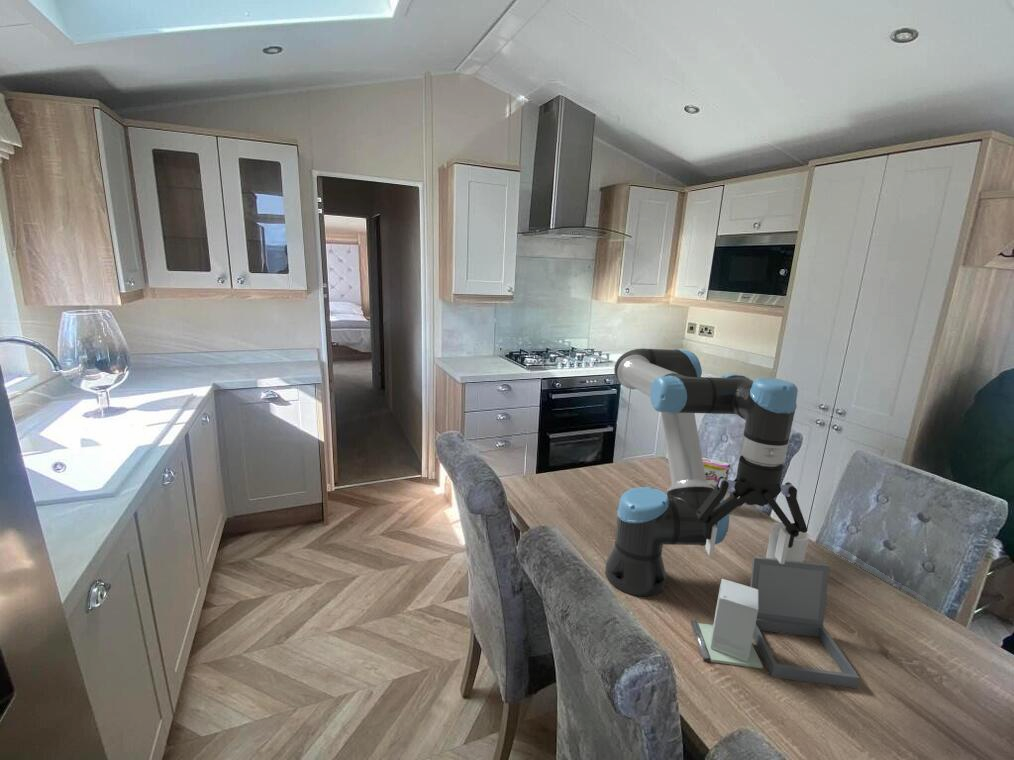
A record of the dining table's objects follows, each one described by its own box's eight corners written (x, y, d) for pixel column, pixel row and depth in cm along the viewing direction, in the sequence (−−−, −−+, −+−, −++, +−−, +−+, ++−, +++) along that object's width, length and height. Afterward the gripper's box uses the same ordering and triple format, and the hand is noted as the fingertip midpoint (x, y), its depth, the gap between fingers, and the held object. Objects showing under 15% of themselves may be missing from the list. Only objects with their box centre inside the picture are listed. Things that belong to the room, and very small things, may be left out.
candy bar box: (686, 503, 159) (692, 459, 155) (689, 498, 163) (695, 454, 159) (721, 513, 153) (728, 468, 150) (723, 507, 158) (730, 462, 154)
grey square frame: (772, 677, 92) (774, 666, 91) (747, 625, 105) (748, 616, 104) (857, 688, 90) (860, 678, 89) (820, 635, 103) (823, 625, 102)
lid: (754, 558, 103) (753, 556, 104) (749, 616, 104) (747, 614, 105) (829, 566, 101) (827, 564, 102) (823, 625, 102) (821, 623, 103)
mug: (818, 570, 126) (826, 535, 123) (783, 577, 122) (791, 541, 120) (791, 552, 134) (798, 519, 131) (758, 558, 130) (764, 524, 128)
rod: (702, 660, 95) (702, 655, 95) (689, 624, 105) (690, 619, 104) (709, 661, 95) (710, 655, 95) (696, 625, 105) (697, 620, 104)
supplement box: (748, 663, 94) (759, 610, 91) (709, 648, 97) (718, 597, 94) (749, 639, 100) (759, 589, 97) (712, 625, 104) (721, 577, 101)
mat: (710, 661, 95) (711, 659, 95) (697, 625, 105) (698, 623, 104) (762, 668, 94) (762, 666, 94) (744, 631, 103) (744, 629, 103)
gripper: (699, 461, 87) (684, 560, 92) (842, 473, 84) (819, 575, 89) (689, 446, 94) (676, 538, 99) (821, 457, 91) (800, 551, 96)
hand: (743, 556), depth 94 cm, fingers open, 13 cm apart
